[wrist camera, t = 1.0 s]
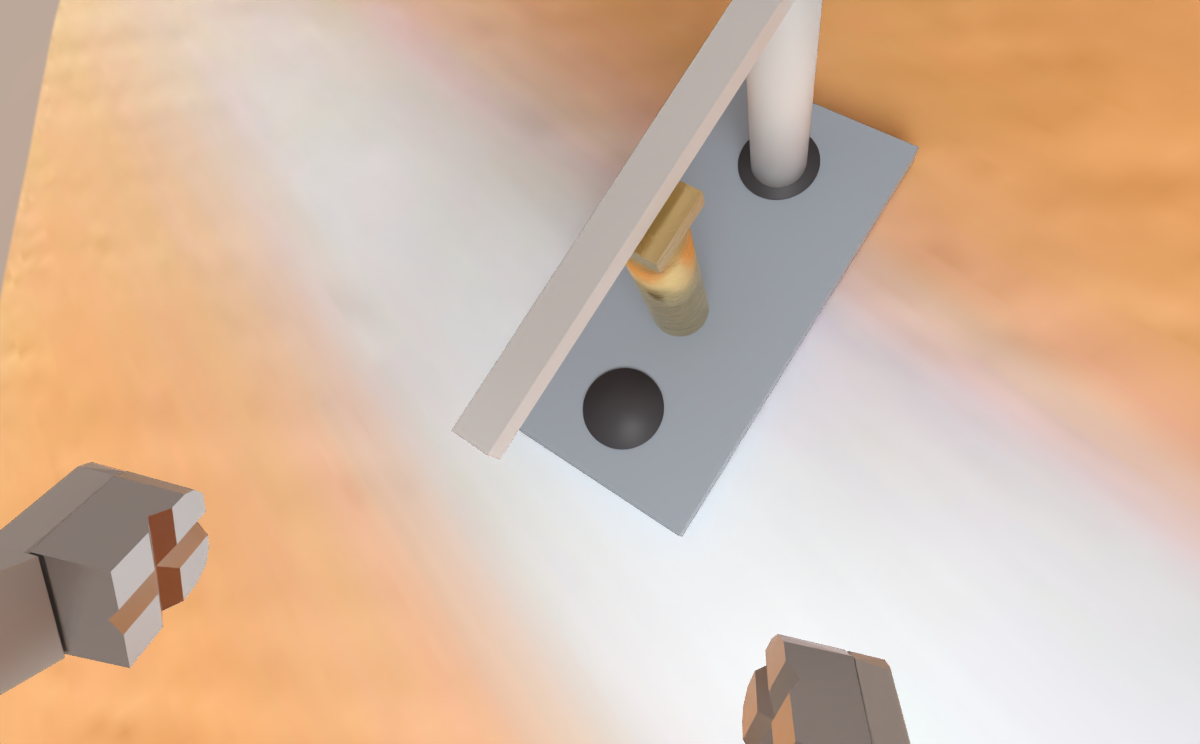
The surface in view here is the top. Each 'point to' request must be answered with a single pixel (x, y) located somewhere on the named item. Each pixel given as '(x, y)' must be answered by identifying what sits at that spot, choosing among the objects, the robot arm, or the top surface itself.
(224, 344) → the top surface
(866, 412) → the top surface
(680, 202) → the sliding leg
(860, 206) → the bolt plate
